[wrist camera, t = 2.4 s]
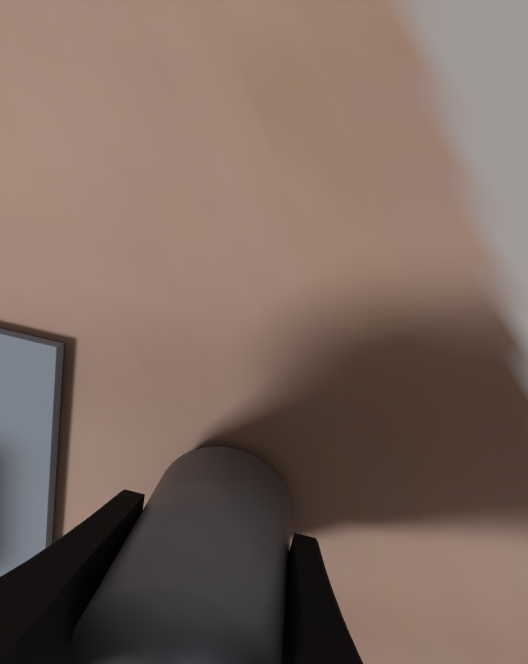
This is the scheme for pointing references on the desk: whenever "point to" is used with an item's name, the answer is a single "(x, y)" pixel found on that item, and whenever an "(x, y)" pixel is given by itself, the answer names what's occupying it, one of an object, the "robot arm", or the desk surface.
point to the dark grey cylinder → (197, 570)
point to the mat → (28, 444)
